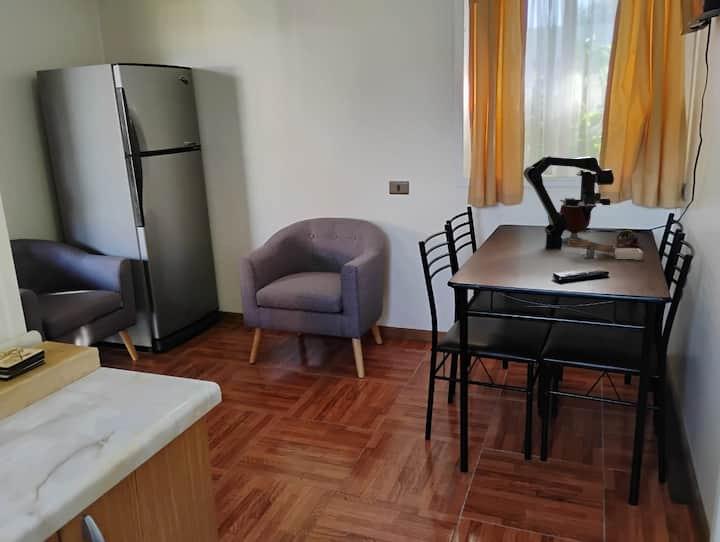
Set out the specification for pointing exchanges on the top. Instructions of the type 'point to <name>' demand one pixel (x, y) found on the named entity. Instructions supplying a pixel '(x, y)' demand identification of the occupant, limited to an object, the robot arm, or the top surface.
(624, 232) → the pottery mug
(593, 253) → the fulcrum
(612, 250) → the tan flat board
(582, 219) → the mate gourd
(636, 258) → the dish
